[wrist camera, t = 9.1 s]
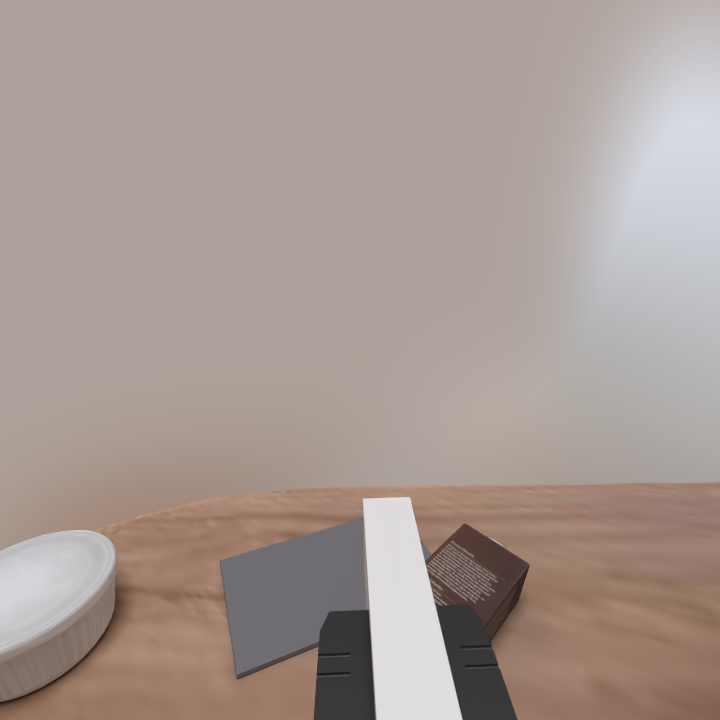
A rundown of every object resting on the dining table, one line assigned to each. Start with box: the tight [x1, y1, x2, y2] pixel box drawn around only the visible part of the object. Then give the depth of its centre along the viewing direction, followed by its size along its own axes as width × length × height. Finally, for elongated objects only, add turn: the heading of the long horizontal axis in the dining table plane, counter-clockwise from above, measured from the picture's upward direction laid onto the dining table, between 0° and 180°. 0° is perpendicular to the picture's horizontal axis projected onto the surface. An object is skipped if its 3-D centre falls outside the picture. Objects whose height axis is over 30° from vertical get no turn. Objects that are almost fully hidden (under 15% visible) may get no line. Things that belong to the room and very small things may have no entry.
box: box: [425, 524, 530, 641], centre depth 30 cm, size 6×4×12 cm
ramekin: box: [0, 530, 118, 702], centre depth 30 cm, size 11×11×5 cm
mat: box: [220, 518, 432, 679], centre depth 36 cm, size 18×11×1 cm, turn 114°
